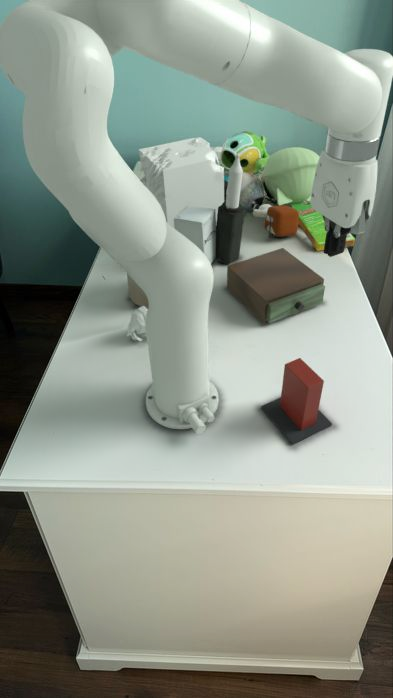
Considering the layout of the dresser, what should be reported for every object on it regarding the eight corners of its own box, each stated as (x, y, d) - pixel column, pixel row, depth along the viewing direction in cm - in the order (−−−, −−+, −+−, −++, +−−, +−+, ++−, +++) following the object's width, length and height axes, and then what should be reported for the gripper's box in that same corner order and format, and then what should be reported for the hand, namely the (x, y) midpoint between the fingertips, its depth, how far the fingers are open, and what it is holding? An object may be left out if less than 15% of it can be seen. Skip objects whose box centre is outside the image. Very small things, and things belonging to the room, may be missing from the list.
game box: (315, 254, 125) (288, 210, 139) (353, 249, 127) (322, 206, 140) (318, 243, 123) (289, 200, 137) (355, 238, 124) (324, 196, 138)
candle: (211, 256, 123) (220, 152, 107) (225, 249, 126) (236, 147, 110) (227, 265, 121) (239, 160, 104) (240, 257, 124) (255, 154, 107)
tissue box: (206, 131, 132) (114, 147, 124) (236, 150, 121) (137, 170, 113) (206, 205, 146) (123, 224, 138) (233, 228, 135) (145, 250, 127)
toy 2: (243, 223, 138) (271, 240, 126) (245, 198, 134) (275, 212, 123) (272, 221, 141) (303, 237, 129) (275, 196, 138) (307, 210, 126)
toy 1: (233, 170, 141) (249, 221, 140) (279, 132, 126) (296, 189, 125) (284, 171, 153) (299, 218, 152) (332, 136, 138) (348, 189, 137)
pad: (331, 425, 84) (332, 423, 84) (292, 445, 81) (292, 442, 81) (298, 391, 90) (298, 389, 90) (260, 408, 87) (260, 406, 87)
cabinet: (320, 302, 109) (324, 278, 105) (263, 324, 104) (265, 300, 100) (280, 270, 119) (282, 247, 115) (226, 289, 114) (227, 265, 110)
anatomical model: (259, 214, 146) (238, 225, 140) (232, 182, 147) (210, 191, 141) (278, 191, 138) (257, 201, 132) (249, 157, 139) (226, 165, 133)
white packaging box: (205, 272, 119) (201, 222, 110) (177, 266, 121) (172, 217, 113) (218, 257, 124) (216, 208, 115) (191, 251, 126) (187, 203, 118)
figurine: (202, 325, 104) (196, 294, 102) (136, 347, 97) (129, 313, 95) (184, 321, 110) (179, 291, 108) (121, 341, 103) (114, 310, 101)
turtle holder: (279, 181, 157) (254, 191, 150) (236, 164, 166) (210, 172, 160) (286, 140, 149) (259, 149, 142) (240, 124, 158) (213, 131, 151)
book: (315, 423, 84) (324, 380, 77) (301, 430, 83) (308, 387, 76) (293, 399, 88) (299, 357, 81) (279, 406, 87) (284, 363, 80)
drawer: (326, 306, 107) (329, 289, 104) (273, 326, 102) (274, 309, 99) (284, 272, 117) (286, 256, 114) (234, 290, 112) (235, 273, 109)
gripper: (300, 135, 80) (290, 240, 92) (367, 168, 70) (345, 280, 82) (338, 126, 82) (323, 229, 95) (408, 156, 72) (380, 267, 85)
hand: (333, 252), depth 88 cm, fingers closed
